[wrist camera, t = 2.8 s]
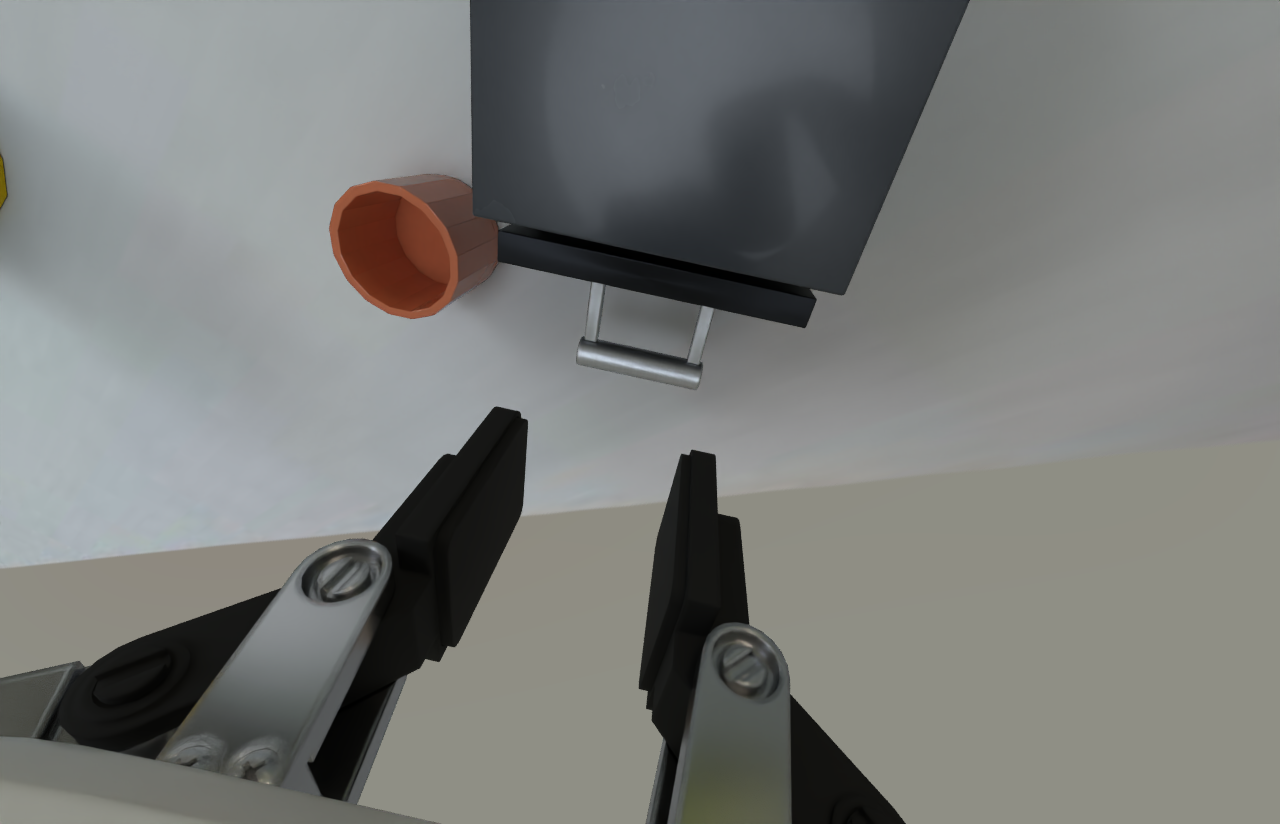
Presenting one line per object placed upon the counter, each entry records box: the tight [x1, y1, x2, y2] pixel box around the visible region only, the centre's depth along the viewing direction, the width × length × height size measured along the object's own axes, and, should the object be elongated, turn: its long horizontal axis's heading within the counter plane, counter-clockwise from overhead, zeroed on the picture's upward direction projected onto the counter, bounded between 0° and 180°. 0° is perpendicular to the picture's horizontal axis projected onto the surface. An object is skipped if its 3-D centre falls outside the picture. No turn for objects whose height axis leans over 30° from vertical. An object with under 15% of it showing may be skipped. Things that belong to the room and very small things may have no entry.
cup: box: [329, 174, 498, 319], centre depth 23 cm, size 6×6×5 cm
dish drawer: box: [497, 224, 817, 390], centre depth 18 cm, size 19×12×7 cm, turn 170°
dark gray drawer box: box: [470, 0, 970, 295], centre depth 16 cm, size 16×14×9 cm
